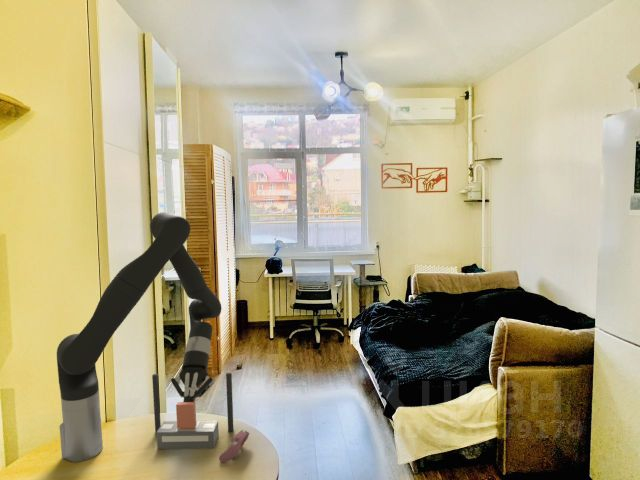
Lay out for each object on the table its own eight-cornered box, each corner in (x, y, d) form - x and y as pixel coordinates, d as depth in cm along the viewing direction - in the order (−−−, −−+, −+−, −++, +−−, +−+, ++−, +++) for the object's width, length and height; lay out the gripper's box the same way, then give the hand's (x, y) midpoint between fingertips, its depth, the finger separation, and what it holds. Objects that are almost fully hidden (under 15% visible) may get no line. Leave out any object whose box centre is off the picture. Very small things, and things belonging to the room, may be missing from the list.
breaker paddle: (177, 428, 124) (176, 404, 123) (178, 425, 126) (177, 402, 125) (194, 428, 124) (193, 404, 124) (196, 425, 126) (195, 401, 125)
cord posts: (154, 433, 132) (151, 376, 130) (156, 430, 133) (153, 373, 131) (232, 432, 132) (230, 374, 130) (233, 429, 133) (232, 372, 132)
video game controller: (231, 470, 116) (241, 449, 115) (216, 461, 117) (226, 440, 115) (244, 449, 126) (254, 429, 125) (231, 441, 126) (240, 421, 125)
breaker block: (157, 449, 123) (156, 432, 123) (164, 437, 130) (163, 421, 129) (213, 448, 124) (213, 431, 123) (218, 436, 130) (218, 420, 129)
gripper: (172, 349, 134) (160, 407, 123) (216, 349, 134) (207, 406, 123) (178, 359, 140) (167, 415, 129) (220, 359, 140) (212, 415, 129)
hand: (187, 411), depth 126 cm, fingers closed
